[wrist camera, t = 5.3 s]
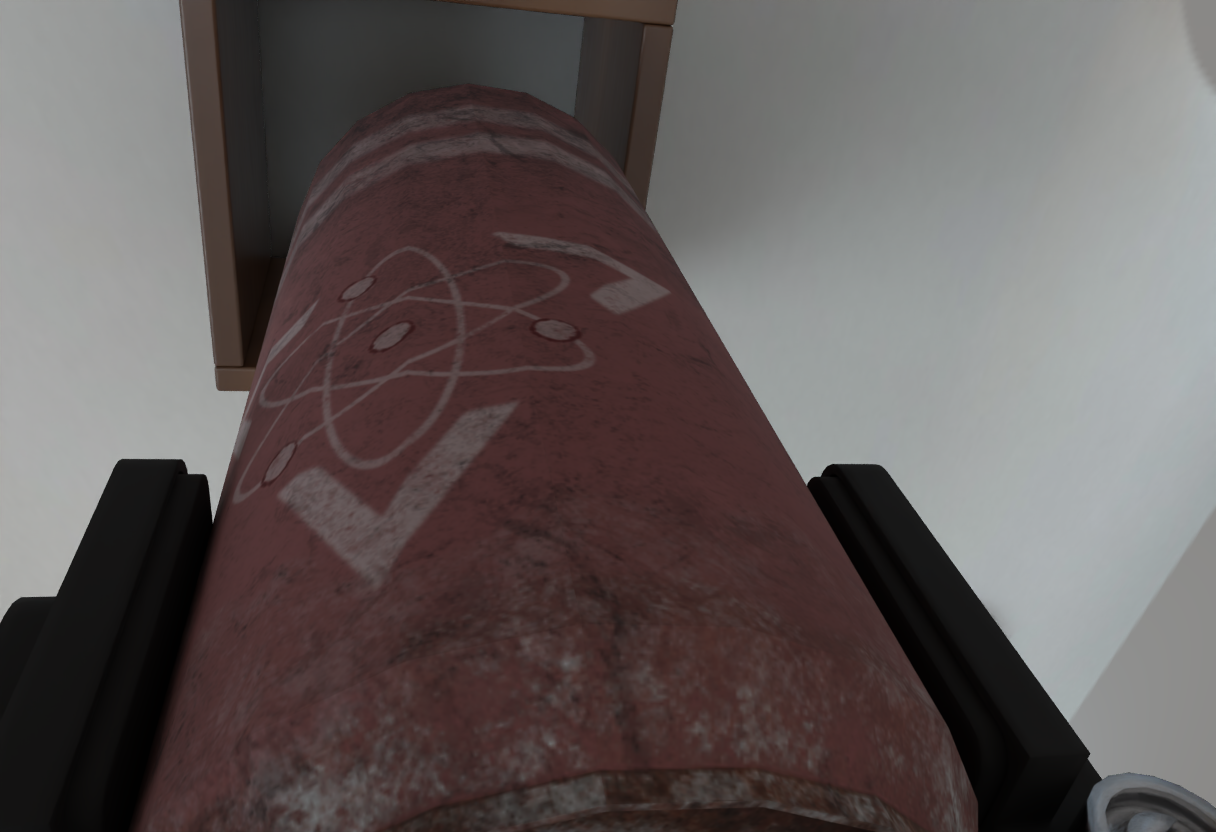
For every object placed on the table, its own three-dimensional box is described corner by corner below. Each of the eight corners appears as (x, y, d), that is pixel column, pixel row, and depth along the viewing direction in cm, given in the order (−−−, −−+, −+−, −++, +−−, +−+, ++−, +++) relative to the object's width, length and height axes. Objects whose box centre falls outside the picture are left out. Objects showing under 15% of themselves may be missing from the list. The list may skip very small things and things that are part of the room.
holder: (616, -49, 23) (680, -7, 18) (575, 288, 27) (617, 396, 22) (223, -98, 21) (172, -66, 16) (249, 276, 25) (216, 392, 20)
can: (245, 330, 18) (-72, 1325, 6) (384, 7, 15) (301, 643, 4) (534, 439, 20) (703, 1303, 8) (694, 177, 18) (1242, 887, 6)
